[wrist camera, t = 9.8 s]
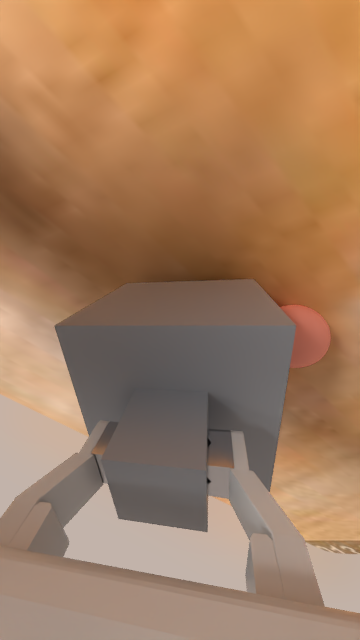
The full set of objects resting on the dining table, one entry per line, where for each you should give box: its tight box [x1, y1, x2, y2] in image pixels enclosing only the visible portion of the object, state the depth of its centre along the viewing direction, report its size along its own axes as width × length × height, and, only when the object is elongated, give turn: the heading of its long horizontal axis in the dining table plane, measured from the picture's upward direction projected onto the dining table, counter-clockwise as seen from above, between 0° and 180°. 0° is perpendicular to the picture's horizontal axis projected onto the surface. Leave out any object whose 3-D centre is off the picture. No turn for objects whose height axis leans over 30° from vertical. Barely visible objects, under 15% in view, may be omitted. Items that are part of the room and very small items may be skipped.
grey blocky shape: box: [55, 279, 296, 532], centre depth 13 cm, size 10×10×12 cm
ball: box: [280, 305, 331, 368], centre depth 17 cm, size 5×5×5 cm
